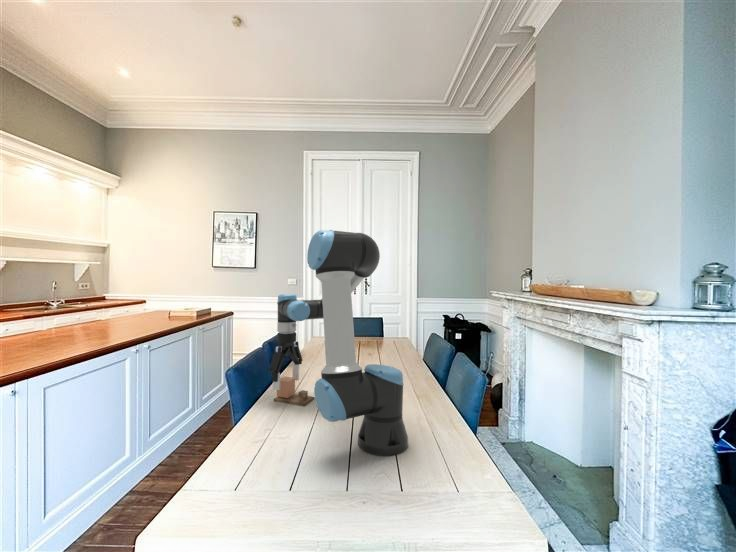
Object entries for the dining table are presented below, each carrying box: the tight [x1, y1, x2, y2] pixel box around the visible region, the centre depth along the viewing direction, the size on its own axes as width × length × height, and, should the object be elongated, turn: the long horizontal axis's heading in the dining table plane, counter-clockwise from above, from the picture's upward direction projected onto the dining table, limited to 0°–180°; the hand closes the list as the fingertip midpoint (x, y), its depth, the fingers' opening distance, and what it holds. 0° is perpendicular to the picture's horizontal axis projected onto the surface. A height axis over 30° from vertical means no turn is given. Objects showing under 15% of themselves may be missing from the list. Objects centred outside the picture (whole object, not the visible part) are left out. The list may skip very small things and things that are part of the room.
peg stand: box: [273, 389, 316, 407], centre depth 139 cm, size 14×8×8 cm, turn 69°
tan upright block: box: [276, 376, 296, 398], centre depth 140 cm, size 5×5×7 cm
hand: (286, 384), depth 140 cm, fingers open, 13 cm apart
